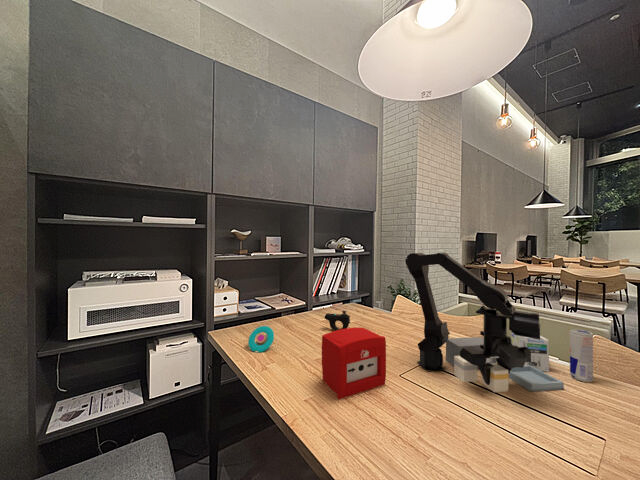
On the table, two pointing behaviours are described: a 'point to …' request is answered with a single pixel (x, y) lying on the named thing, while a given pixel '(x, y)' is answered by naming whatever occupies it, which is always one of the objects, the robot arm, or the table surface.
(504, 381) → the cream taped block
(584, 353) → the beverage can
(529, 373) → the tray
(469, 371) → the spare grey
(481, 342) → the block
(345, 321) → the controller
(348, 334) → the fire alarm
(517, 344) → the light bulb box
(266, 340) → the ornament
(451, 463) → the table surface
